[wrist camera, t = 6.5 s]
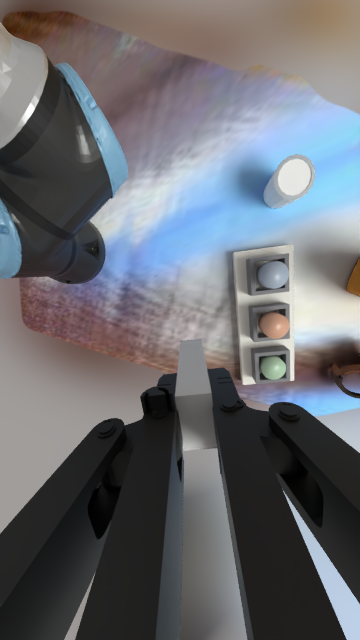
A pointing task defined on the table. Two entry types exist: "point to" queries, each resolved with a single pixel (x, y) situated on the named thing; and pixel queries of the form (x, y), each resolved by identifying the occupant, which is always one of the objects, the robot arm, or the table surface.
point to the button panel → (263, 312)
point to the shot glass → (289, 181)
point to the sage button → (272, 367)
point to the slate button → (272, 274)
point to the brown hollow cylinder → (346, 371)
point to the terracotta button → (273, 325)
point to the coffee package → (355, 280)
